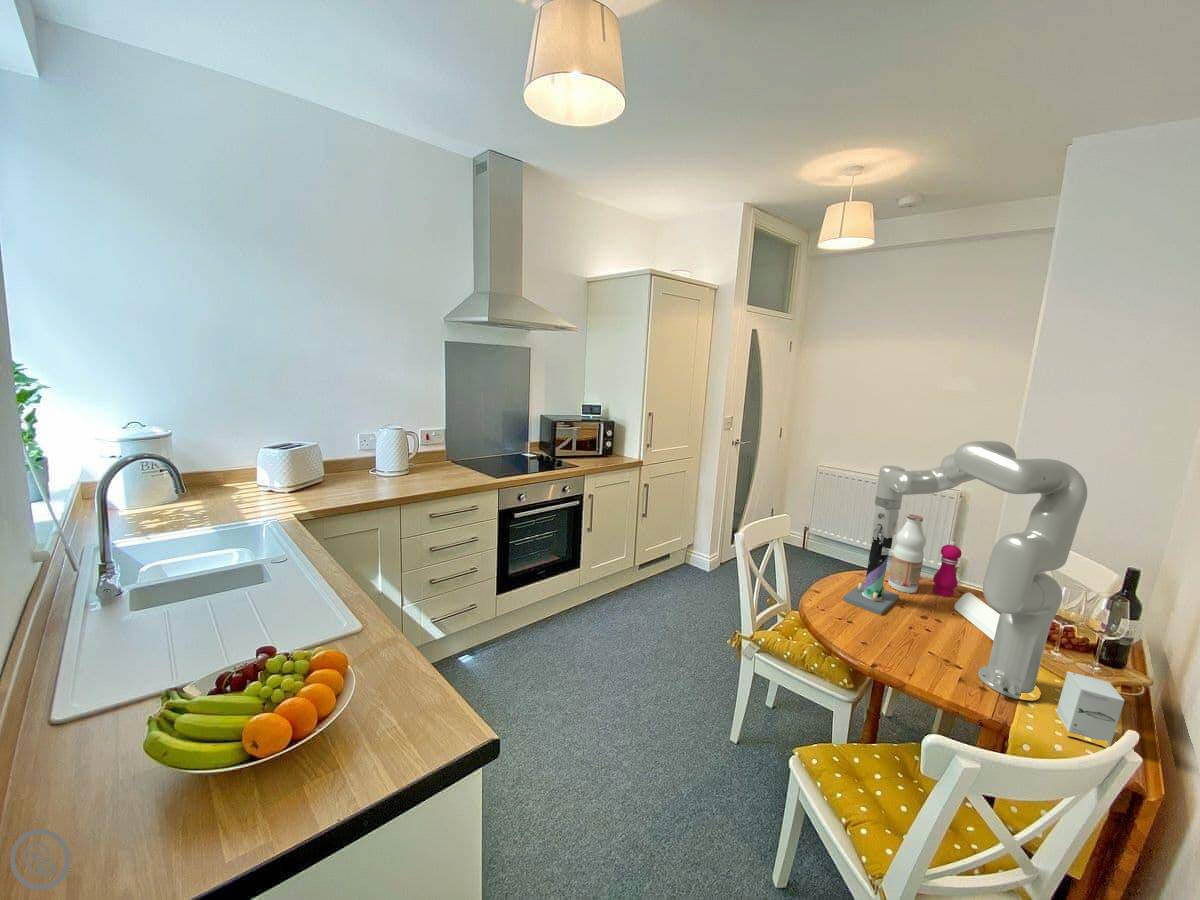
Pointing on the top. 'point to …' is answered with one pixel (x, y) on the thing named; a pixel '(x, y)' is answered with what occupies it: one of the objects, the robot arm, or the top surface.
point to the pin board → (870, 604)
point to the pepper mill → (947, 571)
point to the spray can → (876, 573)
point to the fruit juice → (908, 556)
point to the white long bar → (978, 614)
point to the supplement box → (1089, 707)
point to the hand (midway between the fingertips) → (880, 550)
